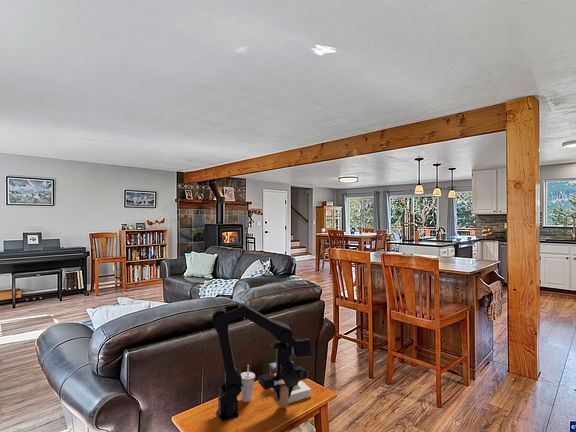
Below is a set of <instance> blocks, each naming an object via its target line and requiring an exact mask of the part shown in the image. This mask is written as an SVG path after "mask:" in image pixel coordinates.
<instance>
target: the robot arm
mask: <svg viewBox="0 0 576 432" xmlns="http://www.w3.org/2000/svg"><path fill="white" fill-rule="evenodd" d="M211 313H212V315H211V321H212V325H213V327H214V329H215V331H216V333H217V336H218V340H219V345H220V351H221V356H222V360H223V361H222V362H223V366H224V378H225V379H224V382H223V383H222V384H221V385H220V386H219V396H218V398H217V400H218V401H217V410H216V413H217V416H218V418H219V419H220V421H221V422H224V421H227V420H230V419H234V418H238V417H239V400H238V396H240V394H242V393H241V390H242V388H241V386H242V387H243V381H242V377H241V373H242V372H241V371H242V370H241V368H240V367H239V368H237V367H236V366H235V361H234V356H233V350H232V345H231V339H230V333H229V323H232V322H234V321H236V320H237V319H240V318H244V319H246V320H249V321H250V322H252V323H254V324H255V325H257V326H259V327H261V328H262V329H264V330H266V331H268V332H269V333H270V334H271V335H272V336H273V337H274V338H276V339H275V340H274V341H273V342H272V343H271V344H270V346H271V348H272V349H273V350H276V351H275V352H276V355H275V356H276V357H275V359H274V363H276V369H274V374H275V375H274V376H272V377H271V376H270V373H266V374H262V375H261V374H260V375H259V377H258V384H259V386H260V387H262V389H264V390H268V389H272V388H273V390H274V392H273V393H274V396H275V398H276V401H277V402H278V401H279V399H280V393H279V389H280V387H281V386H280V385H279V381H281V380H283V381H284V382H285V384H286V386H287V387H289V398H290V395H291V392H292V391H294V390H293V387H294V386H297V385H298V382H299V381H302V382H303V380H306V379H308V377H309V372H308V370H307V369H305V368H304V367H303V366H302V365H299V366H295V367H294V365H293V363H294V361H292V356H294V357H295V359H301V358H302V359H303V358H311V357H312V347H311V343H310V342H311V340H310V339H309V338H301V339H300V338H299V339H296V338H295V336H294V334H293V331H292V329H291V328H290V326H289V325H288V324H287V323H286V322H282V321H278V320H273V319H272V318H270V317H268V316H266V315H264V314H262V313H261V312H259V311H257V310H255V309H254V308H252V307H250V306H248V305H247V303H245V302H241V303H238V304H234V305H233V304H232V305H226V306H221V305H220V306H216V307H215V308H214V309H213V310H212V312H211ZM277 340H278V341H277ZM291 361H292V362H291Z"/></svg>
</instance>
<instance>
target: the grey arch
mask: <svg viewBox="0 0 576 432" xmlns="http://www.w3.org/2000/svg"><path fill="white" fill-rule="evenodd" d="M291 362H293V361H292V360H291ZM268 366H269V375H270V376H271V377H272V376H275V370H276V363H275V362H272V363H269V364H268ZM293 366H294V362H293Z"/></svg>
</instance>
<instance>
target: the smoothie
mask: <svg viewBox="0 0 576 432" xmlns="http://www.w3.org/2000/svg"><path fill="white" fill-rule="evenodd" d="M241 377H242V381H243V387H242V386H241V388H242V390H241V393H240V394H241V399H242V402H244V403H249V402H251V401H252V399H253V391H254V384H255V379H256V374H255V373H254V372H252V371H250V364H247V371H244V372H241Z"/></svg>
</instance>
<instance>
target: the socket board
mask: <svg viewBox="0 0 576 432" xmlns="http://www.w3.org/2000/svg"><path fill="white" fill-rule="evenodd" d="M281 381H283V380H280V381H279V382H281ZM271 391H272V392H273V393H274V390H273V388H271ZM310 397H312V388H311V387H310V386H309V385H307V383H305V382H304V381H303V380H302V381H299V382H298V385H297V386H294V387H293V390H292V392H291V395H290V398H289V404H292V403H295V402H297V401H301V400H303V399H307V398H310Z"/></svg>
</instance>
